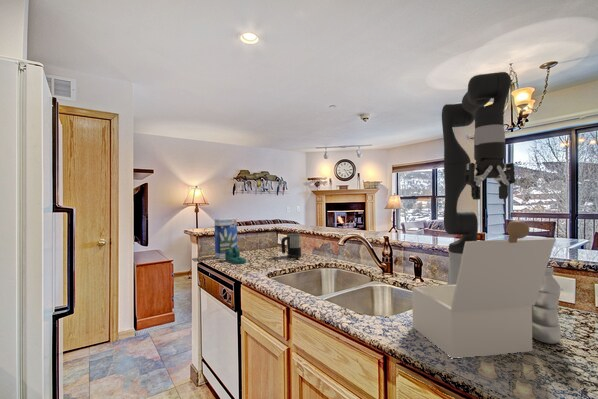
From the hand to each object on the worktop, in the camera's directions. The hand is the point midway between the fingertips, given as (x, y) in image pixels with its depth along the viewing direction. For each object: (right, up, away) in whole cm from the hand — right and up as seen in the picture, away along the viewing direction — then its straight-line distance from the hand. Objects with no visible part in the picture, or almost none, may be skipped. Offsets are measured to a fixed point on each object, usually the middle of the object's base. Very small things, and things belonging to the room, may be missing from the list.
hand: (489, 199), depth 85 cm
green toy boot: (-94, -39, +99) cm, 142 cm away
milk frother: (-58, -38, +109) cm, 129 cm away
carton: (-9, -38, -4) cm, 40 cm away
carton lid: (-8, -15, -16) cm, 23 cm away
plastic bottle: (+11, -38, -6) cm, 40 cm away
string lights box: (-105, -39, +115) cm, 160 cm away
